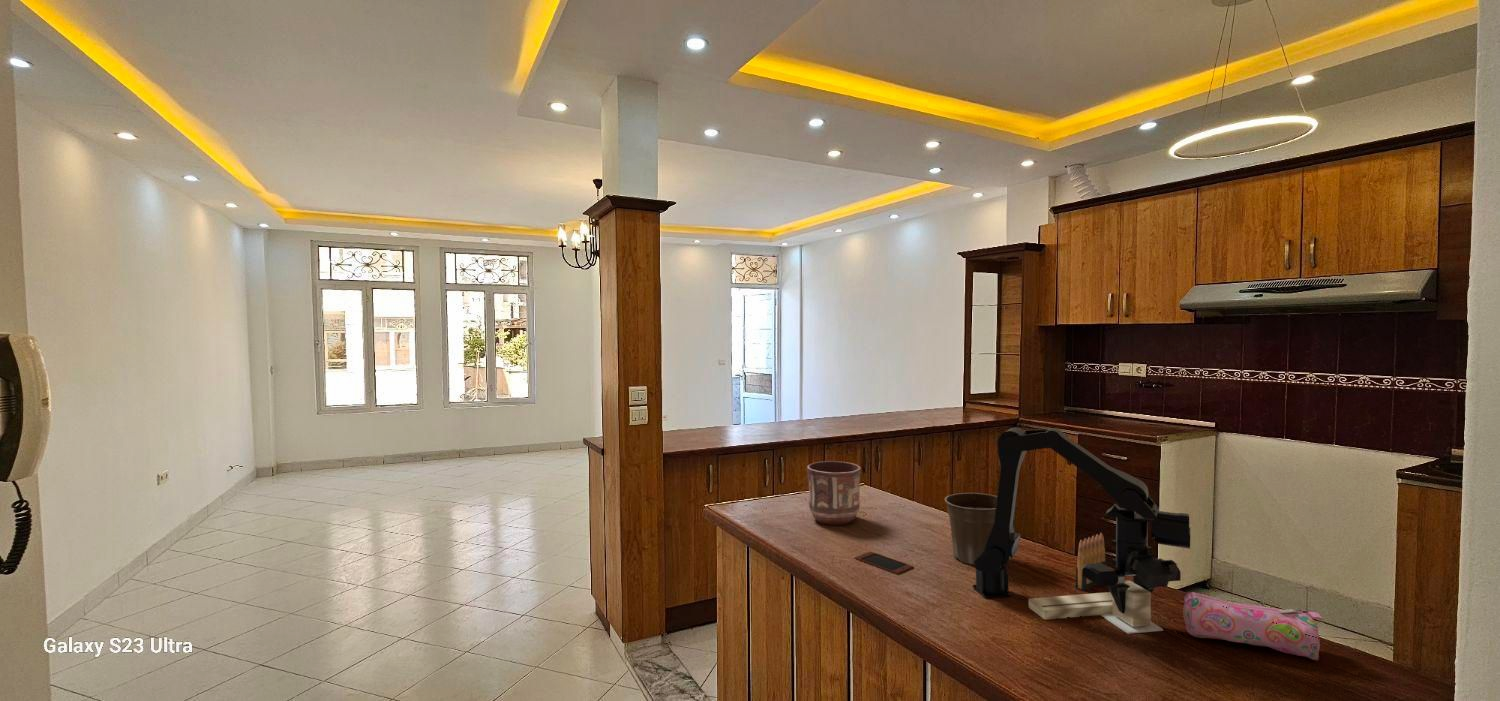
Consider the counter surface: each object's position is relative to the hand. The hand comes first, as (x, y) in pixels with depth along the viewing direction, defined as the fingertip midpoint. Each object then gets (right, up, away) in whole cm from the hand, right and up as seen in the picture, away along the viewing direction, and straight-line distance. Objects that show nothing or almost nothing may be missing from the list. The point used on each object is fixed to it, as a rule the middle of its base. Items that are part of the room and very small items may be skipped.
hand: (1131, 611), depth 133 cm
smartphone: (-45, -3, +36) cm, 58 cm away
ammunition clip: (+2, -2, +20) cm, 20 cm away
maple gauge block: (0, -2, 0) cm, 2 cm away
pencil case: (+17, -3, -10) cm, 20 cm away
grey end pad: (0, -3, 0) cm, 3 cm away
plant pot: (-19, -2, +38) cm, 43 cm away
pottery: (-53, -1, +74) cm, 91 cm away
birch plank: (-7, -2, +7) cm, 10 cm away
